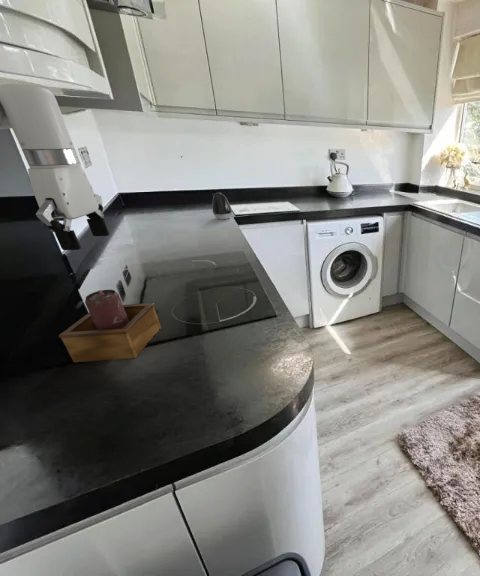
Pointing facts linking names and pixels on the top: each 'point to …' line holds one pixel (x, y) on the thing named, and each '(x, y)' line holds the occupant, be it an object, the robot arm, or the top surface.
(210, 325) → the top surface
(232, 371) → the top surface
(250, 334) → the top surface
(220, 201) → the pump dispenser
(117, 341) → the wooden open box
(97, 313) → the can
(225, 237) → the top surface
